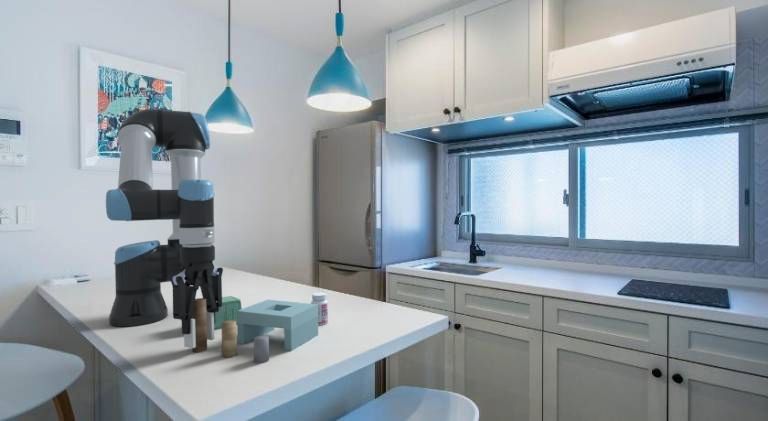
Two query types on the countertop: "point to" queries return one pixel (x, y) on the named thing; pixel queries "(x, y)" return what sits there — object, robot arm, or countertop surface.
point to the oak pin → (229, 339)
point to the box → (227, 311)
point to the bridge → (279, 321)
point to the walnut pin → (200, 325)
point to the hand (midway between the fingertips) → (199, 342)
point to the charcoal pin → (261, 349)
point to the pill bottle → (321, 307)
